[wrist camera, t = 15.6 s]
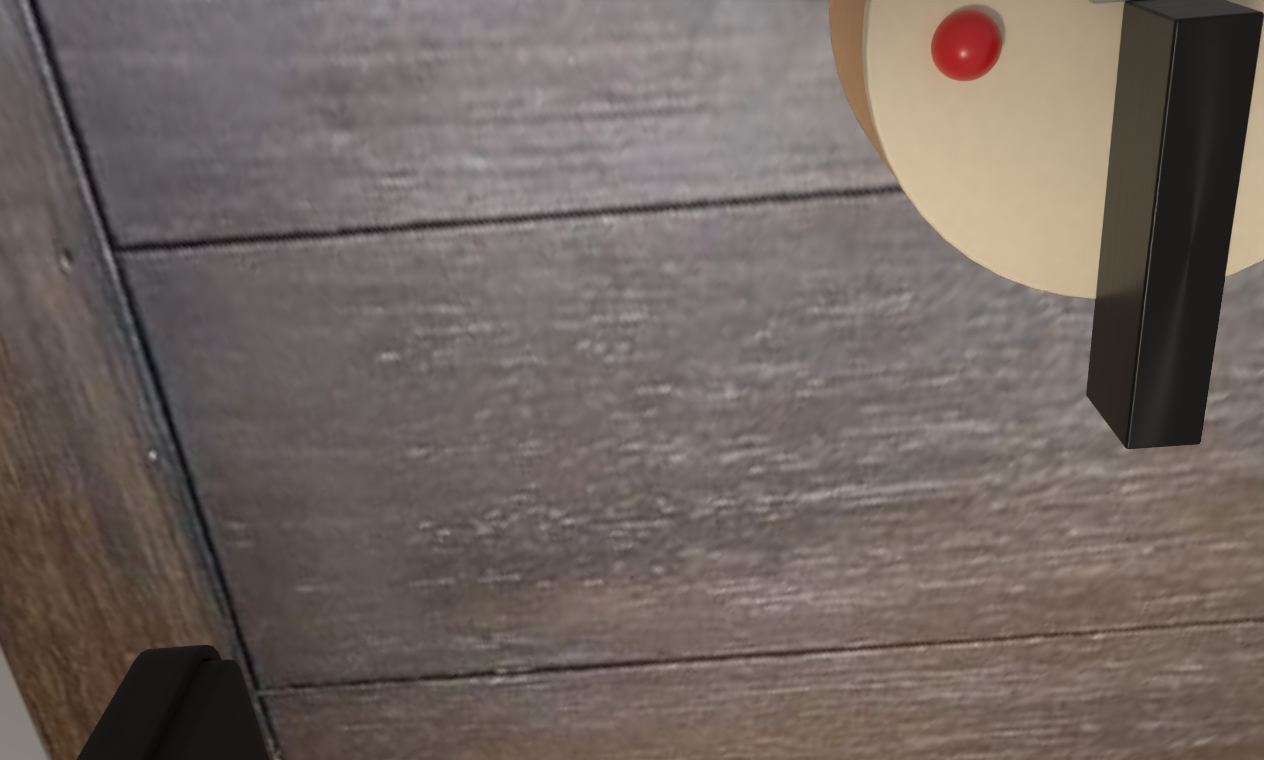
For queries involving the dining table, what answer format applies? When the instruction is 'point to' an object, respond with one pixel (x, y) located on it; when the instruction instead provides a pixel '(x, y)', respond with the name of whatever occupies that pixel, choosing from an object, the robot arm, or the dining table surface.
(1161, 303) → the knife
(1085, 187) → the cake
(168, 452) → the dining table surface
